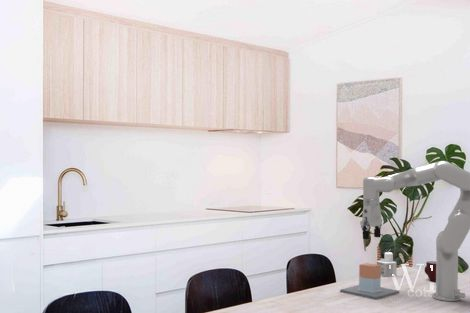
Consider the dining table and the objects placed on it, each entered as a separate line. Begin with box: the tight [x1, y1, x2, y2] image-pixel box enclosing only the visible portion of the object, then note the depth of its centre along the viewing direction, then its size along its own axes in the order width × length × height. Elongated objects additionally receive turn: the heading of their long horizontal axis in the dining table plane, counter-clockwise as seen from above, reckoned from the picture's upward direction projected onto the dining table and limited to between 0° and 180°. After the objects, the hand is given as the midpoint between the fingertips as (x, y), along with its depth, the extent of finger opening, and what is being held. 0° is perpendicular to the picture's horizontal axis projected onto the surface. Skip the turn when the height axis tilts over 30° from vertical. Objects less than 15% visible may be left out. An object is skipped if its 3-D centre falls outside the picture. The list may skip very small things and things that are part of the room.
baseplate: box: [339, 284, 400, 301], centre depth 284 cm, size 20×20×1 cm
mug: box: [424, 260, 436, 283], centre depth 314 cm, size 11×8×10 cm
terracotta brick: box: [358, 262, 382, 279], centre depth 284 cm, size 8×6×6 cm
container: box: [376, 250, 398, 278], centre depth 327 cm, size 8×8×13 cm
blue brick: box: [358, 277, 381, 292], centre depth 284 cm, size 8×6×6 cm
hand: (371, 238), depth 284 cm, fingers open, 9 cm apart
